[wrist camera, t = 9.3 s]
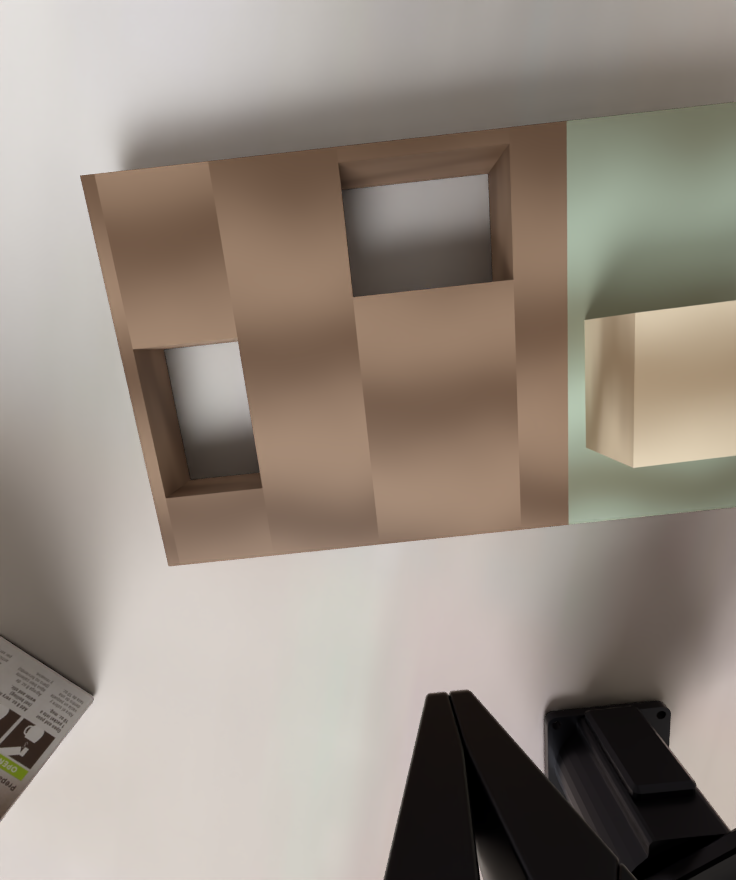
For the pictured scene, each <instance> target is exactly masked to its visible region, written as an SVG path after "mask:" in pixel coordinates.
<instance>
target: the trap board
mask: <svg viewBox="0 0 736 880" xmlns="http://www.w3.org/2000/svg"><path fill="white" fill-rule="evenodd" d="M480 174H488V182H489V207H490V232H491V256H492V281H493V282H487V283H478V284H469V285H460V286H451V287H442V288H432V289H423V290H414V291H405V292H396V293H387V294H378V295H368V296H359V297H353V290H352V281H351V272H350V262H349V253H348V244H347V235H346V225H345V216H344V207H343V198H342V190H346V189H355V188H364V187H373V186H382V185H390V184H399V183H408V182H417V181H426V180H435V179H444V178H453V177H462V176H471V175H480ZM80 177H81V182H82V186H83V190H84V195H85V199H86V204H87V208H88V212H89V217H90V221H91V226H92V230H93V235H94V239H95V243H96V248H97V252H98V257H99V261H100V265H101V270H102V274H103V279H104V283H105V288H106V292H107V296H108V301H109V305H110V310H111V314H112V318H113V323H114V327H115V332H116V336H117V341H118V345H119V349H120V354H121V358H122V363H123V367H124V372H125V376H126V380H127V385H128V389H129V394H130V398H131V402H132V407H133V411H134V416H135V420H136V425H137V429H138V433H139V438H140V442H141V447H142V451H143V455H144V460H145V464H146V469H147V473H148V478H149V482H150V486H151V491H152V495H153V500H154V504H155V509H156V513H157V517H158V522H159V526H160V531H161V535H162V539H163V544H164V548H165V553H166V557H167V562H168V566H177V565H186V564H196V563H205V562H215V561H225V560H234V559H244V558H253V557H263V556H272V555H282V554H292V553H301V552H311V551H320V550H330V549H340V548H349V547H359V546H368V545H378V544H388V543H397V542H407V541H416V540H426V539H436V538H445V537H455V536H464V535H474V534H483V533H493V532H503V531H512V530H522V529H531V528H541V527H551V526H560V525H570V524H579V523H589V522H599V521H608V520H618V519H627V518H637V517H646V516H656V515H666V514H675V513H685V512H694V511H704V510H714V509H723V508H733V507H736V456H728V457H720V458H711V459H703V460H695V461H687V462H678V463H670V464H662V465H653V466H645V467H637V468H632V467H630V466H628V465H625V464H623V463H621V462H618V461H616V460H614V459H611V458H609V457H607V456H604V455H602V454H600V453H597V452H595V451H593V450H590V449H588V448H586V410H585V330H584V320H589V319H596V318H603V317H610V316H617V315H624V314H631V313H639V312H647V311H655V310H663V309H671V308H679V307H687V306H695V305H703V304H711V303H718V302H726V301H734V300H736V102H730V103H721V104H712V105H703V106H694V107H685V108H676V109H667V110H659V111H650V112H641V113H632V114H623V115H614V116H605V117H596V118H588V119H579V120H570V121H561V122H552V123H543V124H534V125H525V126H517V127H508V128H499V129H490V130H481V131H472V132H463V133H455V134H446V135H437V136H428V137H419V138H410V139H401V140H392V141H384V142H375V143H366V144H357V145H348V146H339V147H330V148H321V149H313V150H304V151H295V152H286V153H277V154H268V155H259V156H250V157H242V158H233V159H224V160H215V161H206V162H197V163H188V164H179V165H171V166H162V167H153V168H144V169H135V170H126V171H117V172H108V173H100V174H91V175H82V176H80ZM237 341H238V344H239V350H240V356H241V362H242V368H243V374H244V380H245V386H246V392H247V398H248V404H249V410H250V416H251V422H252V428H253V434H254V440H255V446H256V452H257V458H258V464H259V470H260V473H251V474H242V475H232V476H223V477H213V478H204V479H195V480H190V476H189V471H188V466H187V461H186V456H185V452H184V447H183V442H182V437H181V432H180V427H179V422H178V417H177V412H176V408H175V403H174V398H173V393H172V388H171V383H170V378H169V373H168V368H167V363H166V359H165V354H164V349H172V348H182V347H191V346H200V345H209V344H218V343H228V342H237Z"/></svg>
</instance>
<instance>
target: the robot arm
mask: <svg viewBox="0 0 736 880" xmlns="http://www.w3.org/2000/svg"><path fill="white" fill-rule="evenodd" d="M670 719H671V713H670V710H669V709H668V708H667V707H666V705H665V704H664V703H663V702H661V701H649V702H639V703H629V704H619V705H610V706H600V707H590V708H580V709H570V710H560V711H552V712H549V713H548V714H546V716H545V718H544V737H545V775H544V774H543V773H542V771H541V770H540V769H539V768H538V767H537V766H536V765H535V764H534V762H533V761H532V760H531V759H530V758H529V757H528V756H527V754H526V753H525V752H524V751H523V750H522V749H521V748H520V747H519V745H518V744H517V743H516V742H515V741H514V740H513V739H512V737H511V736H510V735H509V734H508V733H507V732H506V731H505V730H504V728H503V727H502V726H501V725H500V724H499V723H498V722H497V720H496V719H495V718H494V717H493V716H492V715H491V714H490V713H489V711H488V710H487V709H486V708H485V707H484V706H483V705H482V703H481V702H480V701H479V700H478V699H477V698H476V697H475V696H474V694H473V693H472V692H471V691H469V690H457V691H451V692H450V693H449V695H448V694H447V693H446V692H437V693H429V694H427V696H426V699H425V703H424V707H423V712H422V716H421V720H420V725H419V729H418V733H417V738H416V742H415V746H414V751H413V755H412V759H411V764H410V768H409V772H408V776H407V781H406V785H405V789H404V794H403V798H402V802H401V807H400V811H399V815H398V820H397V824H396V828H395V833H394V837H393V841H392V846H391V850H390V854H389V858H388V863H387V867H386V871H385V876H384V880H480V874H479V866H480V870H481V873H482V877H483V880H736V828H735V829H733V830H732V831H731V830H730V829H729V828H728V827H727V825H726V824H725V823H724V821H723V820H722V819H721V817H720V816H719V815H718V814H717V812H716V811H715V810H714V808H713V807H712V806H711V804H710V803H709V802H708V801H707V799H706V798H705V797H704V795H703V794H702V793H701V791H700V790H699V789H698V788H697V786H696V783H695V781H694V780H693V778H692V777H691V776H690V774H689V773H688V772H687V771H686V769H685V768H684V767H683V765H682V764H681V763H680V762H679V760H678V759H677V758H676V756H675V755H674V754H673V752H672V751H671V750H670V749H669V737H670ZM556 721H557V722H556ZM554 722H555V723H554ZM478 863H479V865H478Z"/></svg>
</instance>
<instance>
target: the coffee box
mask: <svg viewBox="0 0 736 880" xmlns="http://www.w3.org/2000/svg"><path fill="white" fill-rule="evenodd" d="M93 700H94V698H93V696H92V695H90V694H89V693H87V692H86V691H84V690H83V689H81V688H80V687H78V686H77V685H75V684H73V683H72V682H70V681H69V680H67V679H66V678H64V677H63V676H61V675H60V674H58V673H57V672H55V671H53V670H52V669H50V668H49V667H47V666H45V665H44V664H42V663H41V662H40V661H38V660H37V659H35V658H33V657H32V656H30V655H29V654H27V653H25V652H24V651H22V650H21V649H19V648H18V647H16V646H15V645H13V644H12V643H10V642H9V641H7V640H6V639H4V638H3V637H1V636H0V822H1V820H2V819H3V818H4V816H5V815H6V814H7V812H8V811H9V810H10V808H11V807H12V806H13V805H14V803H15V802H16V801H17V799H18V798H19V797H20V795H21V794H22V793H23V791H24V790H25V789H26V788H27V786H28V785H29V784H30V782H31V781H32V780H33V778H34V777H35V776H36V775H37V773H38V772H39V771H40V769H41V768H42V767H43V765H44V764H45V763H46V762H47V760H48V759H49V758H50V756H51V755H52V754H53V752H54V751H55V750H56V748H57V747H58V746H59V745H60V743H61V742H62V741H63V739H64V738H65V737H66V735H67V734H68V733H69V732H70V730H71V729H72V728H73V727H74V725H75V724H76V723H77V721H78V720H79V719H80V718H81V716H82V715H83V714H84V712H85V711H86V710H87V709H88V707H89V706H90V705H91V704H92V702H93Z"/></svg>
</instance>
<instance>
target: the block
mask: <svg viewBox="0 0 736 880" xmlns="http://www.w3.org/2000/svg"><path fill="white" fill-rule="evenodd" d="M584 330H585V410H586V448H588V449H590V450H593V451H595V452H597V453H600V454H602V455H604V456H607V457H609V458H611V459H614V460H616V461H618V462H621V463H623V464H625V465H628V466H630V467H632V468H637V467H645V466H653V465H662V464H670V463H678V462H687V461H695V460H703V459H711V458H720V457H728V456H736V300H734V301H726V302H718V303H711V304H703V305H695V306H687V307H679V308H671V309H663V310H655V311H647V312H639V313H631V314H624V315H617V316H610V317H603V318H596V319H589V320H584Z"/></svg>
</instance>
